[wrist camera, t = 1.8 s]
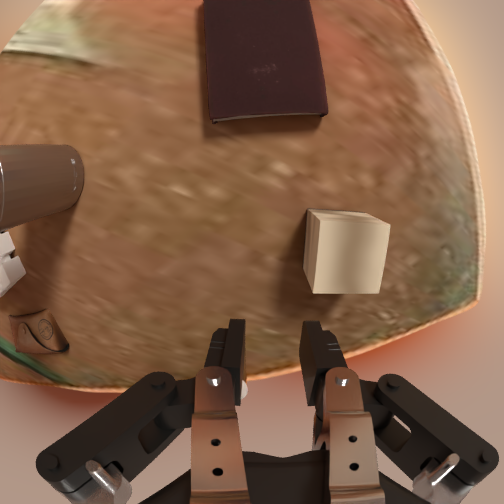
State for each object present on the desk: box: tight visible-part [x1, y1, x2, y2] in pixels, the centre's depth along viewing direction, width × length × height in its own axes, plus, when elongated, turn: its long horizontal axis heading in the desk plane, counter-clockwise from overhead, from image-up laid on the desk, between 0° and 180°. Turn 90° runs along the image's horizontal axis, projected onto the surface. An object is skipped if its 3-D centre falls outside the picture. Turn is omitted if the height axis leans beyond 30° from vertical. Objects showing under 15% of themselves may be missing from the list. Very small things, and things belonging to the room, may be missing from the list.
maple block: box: [303, 209, 390, 294], centre depth 27 cm, size 7×7×7 cm
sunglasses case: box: [9, 309, 69, 354], centre depth 37 cm, size 18×7×7 cm, turn 105°
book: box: [204, 0, 328, 124], centre depth 23 cm, size 12×19×3 cm, turn 4°
